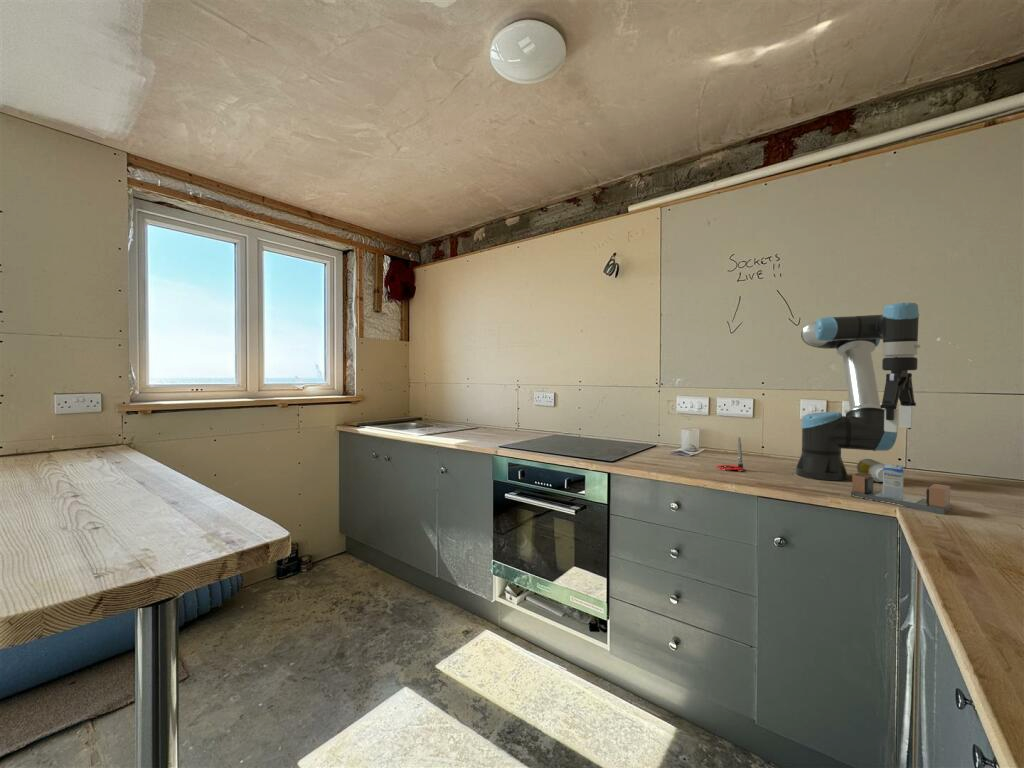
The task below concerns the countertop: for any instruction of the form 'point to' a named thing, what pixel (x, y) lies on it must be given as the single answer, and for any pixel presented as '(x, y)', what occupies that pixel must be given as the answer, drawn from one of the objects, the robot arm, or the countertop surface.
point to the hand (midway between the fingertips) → (898, 429)
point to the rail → (933, 503)
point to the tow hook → (740, 461)
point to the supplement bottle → (871, 469)
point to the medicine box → (893, 481)
